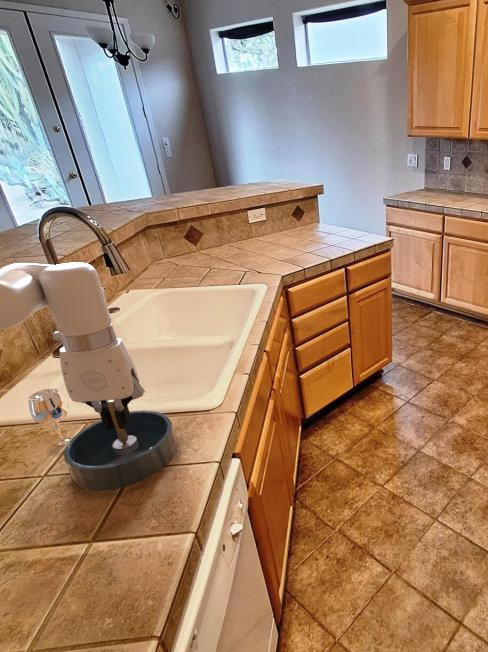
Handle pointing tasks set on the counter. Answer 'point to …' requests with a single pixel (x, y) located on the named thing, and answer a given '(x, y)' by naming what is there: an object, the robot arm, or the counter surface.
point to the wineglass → (49, 409)
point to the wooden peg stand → (121, 435)
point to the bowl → (120, 470)
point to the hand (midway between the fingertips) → (118, 424)
